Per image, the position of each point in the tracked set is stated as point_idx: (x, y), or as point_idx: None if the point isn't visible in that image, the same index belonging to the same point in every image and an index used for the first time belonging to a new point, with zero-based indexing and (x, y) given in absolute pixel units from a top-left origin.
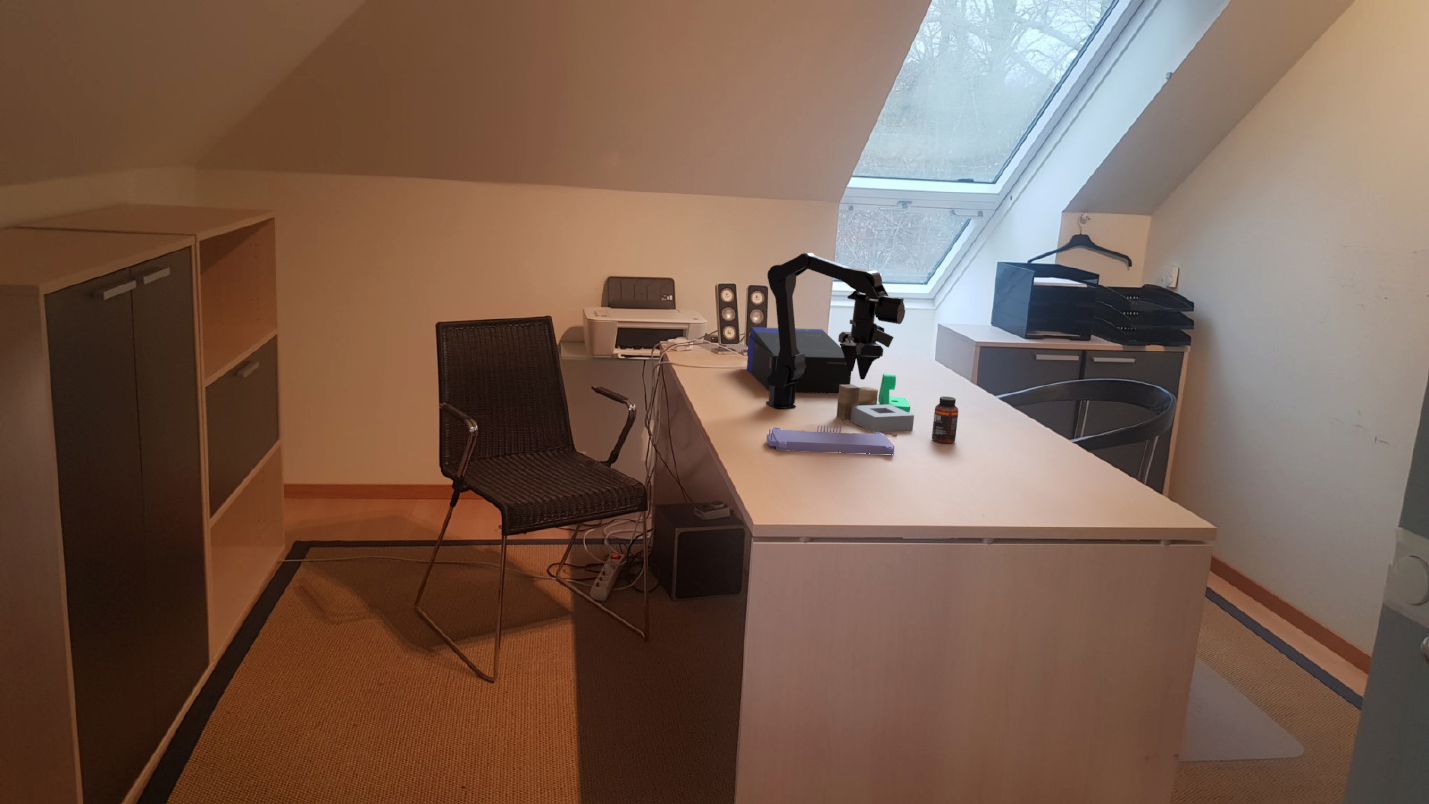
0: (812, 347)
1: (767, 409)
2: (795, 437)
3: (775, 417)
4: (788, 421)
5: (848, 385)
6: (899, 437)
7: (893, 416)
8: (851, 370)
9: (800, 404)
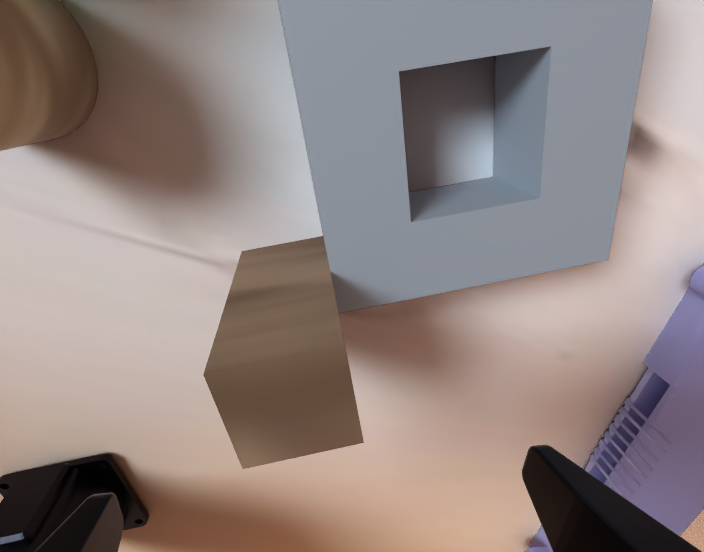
0: None
1: (165, 535)
2: None
3: (291, 523)
4: (348, 495)
5: (256, 412)
6: (674, 128)
7: (629, 124)
8: (114, 514)
9: (11, 422)
